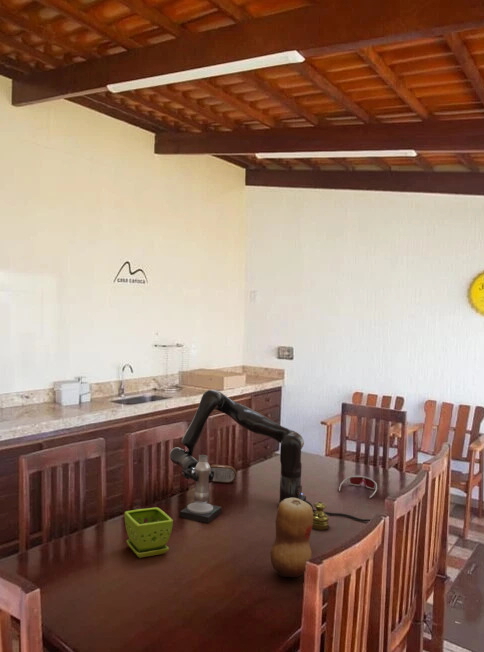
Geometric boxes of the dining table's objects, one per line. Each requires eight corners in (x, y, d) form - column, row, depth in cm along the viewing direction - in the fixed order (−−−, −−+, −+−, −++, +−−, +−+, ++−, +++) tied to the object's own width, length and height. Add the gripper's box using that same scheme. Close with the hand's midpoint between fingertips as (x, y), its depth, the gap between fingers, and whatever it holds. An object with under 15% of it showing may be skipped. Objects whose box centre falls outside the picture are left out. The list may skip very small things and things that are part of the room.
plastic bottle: (192, 499, 231) (194, 453, 230) (208, 499, 231) (210, 454, 231) (193, 505, 224) (195, 458, 224) (209, 505, 225) (212, 458, 224)
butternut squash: (301, 590, 169) (305, 511, 168) (263, 577, 176) (266, 501, 175) (316, 572, 180) (320, 499, 180) (279, 561, 187) (283, 490, 187)
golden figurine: (328, 531, 215) (329, 506, 215) (309, 529, 217) (310, 504, 217) (327, 524, 223) (329, 500, 222) (309, 522, 224) (310, 498, 224)
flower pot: (135, 562, 182) (137, 525, 182) (121, 545, 195) (123, 511, 194) (173, 555, 189) (174, 519, 189) (157, 539, 201) (158, 506, 201)
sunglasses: (381, 489, 271) (381, 479, 270) (372, 504, 257) (372, 494, 256) (347, 482, 280) (347, 473, 279) (336, 496, 266) (336, 486, 265)
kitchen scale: (221, 512, 231) (221, 505, 231) (208, 523, 219) (208, 515, 218) (194, 506, 237) (194, 499, 237) (179, 516, 224) (180, 509, 224)
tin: (235, 482, 273) (236, 465, 273) (235, 484, 270) (236, 467, 270) (206, 479, 275) (207, 463, 275) (206, 481, 272) (206, 465, 272)
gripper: (176, 459, 239) (188, 470, 223) (207, 457, 243) (220, 469, 227) (176, 476, 239) (187, 488, 223) (206, 474, 243) (219, 486, 228)
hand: (204, 478), depth 225 cm, fingers closed on plastic bottle, 6 cm apart
